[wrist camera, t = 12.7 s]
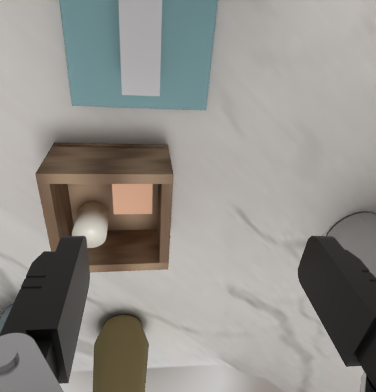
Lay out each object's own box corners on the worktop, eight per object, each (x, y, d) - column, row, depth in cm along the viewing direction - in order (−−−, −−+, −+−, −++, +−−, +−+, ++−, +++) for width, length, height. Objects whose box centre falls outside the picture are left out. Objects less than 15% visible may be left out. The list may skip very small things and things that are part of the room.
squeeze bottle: (125, 346, 53) (119, 485, 38) (85, 329, 49) (61, 474, 34) (158, 322, 51) (166, 459, 36) (119, 301, 47) (109, 444, 32)
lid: (218, -49, 26) (240, -63, 21) (203, 105, 33) (216, 128, 27) (56, -68, 24) (29, -89, 19) (75, 100, 31) (60, 123, 25)
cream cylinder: (108, 201, 36) (105, 221, 33) (110, 225, 38) (107, 247, 35) (76, 201, 36) (69, 222, 33) (79, 226, 38) (73, 248, 34)
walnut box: (167, 145, 35) (173, 174, 29) (164, 230, 41) (168, 269, 35) (54, 142, 33) (35, 173, 27) (68, 232, 39) (55, 273, 33)
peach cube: (151, 163, 35) (152, 180, 31) (151, 194, 37) (152, 213, 33) (114, 163, 34) (111, 180, 31) (116, 194, 36) (113, 214, 33)
